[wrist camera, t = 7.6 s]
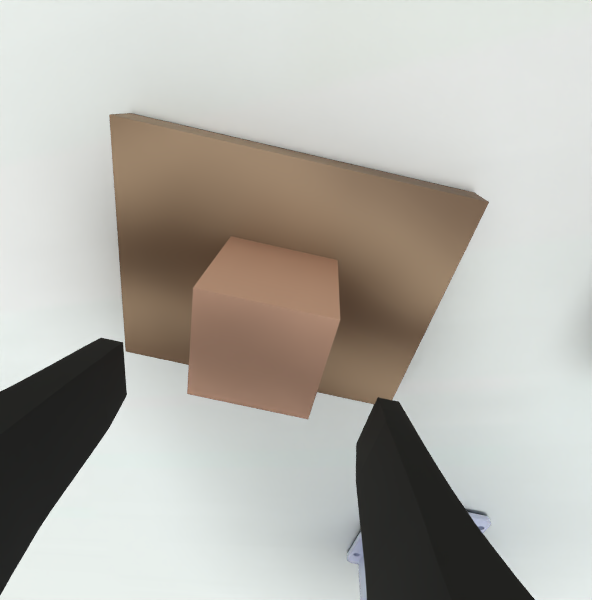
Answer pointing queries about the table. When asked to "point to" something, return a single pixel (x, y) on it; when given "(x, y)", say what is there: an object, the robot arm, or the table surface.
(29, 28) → the table surface
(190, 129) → the base board
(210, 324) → the terracotta cube
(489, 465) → the table surface
